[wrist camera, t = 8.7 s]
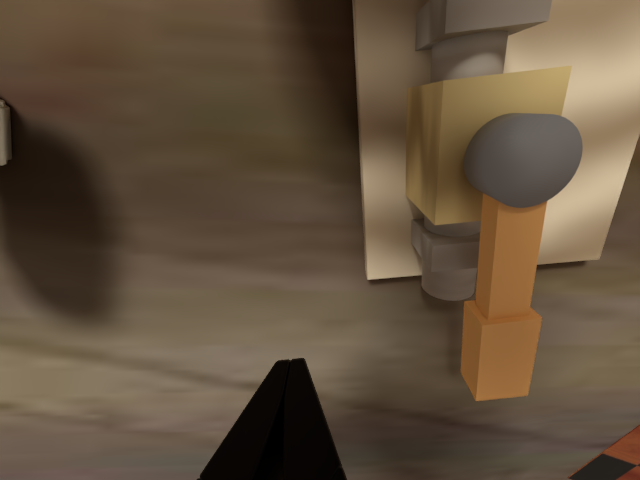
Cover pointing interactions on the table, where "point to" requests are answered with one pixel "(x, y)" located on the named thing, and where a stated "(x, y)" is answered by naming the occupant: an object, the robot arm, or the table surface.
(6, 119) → the pneumatic valve
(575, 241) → the valve plank
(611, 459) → the chessboard
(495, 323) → the valve lever
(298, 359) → the robot arm
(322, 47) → the table surface
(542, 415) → the table surface
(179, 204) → the table surface
